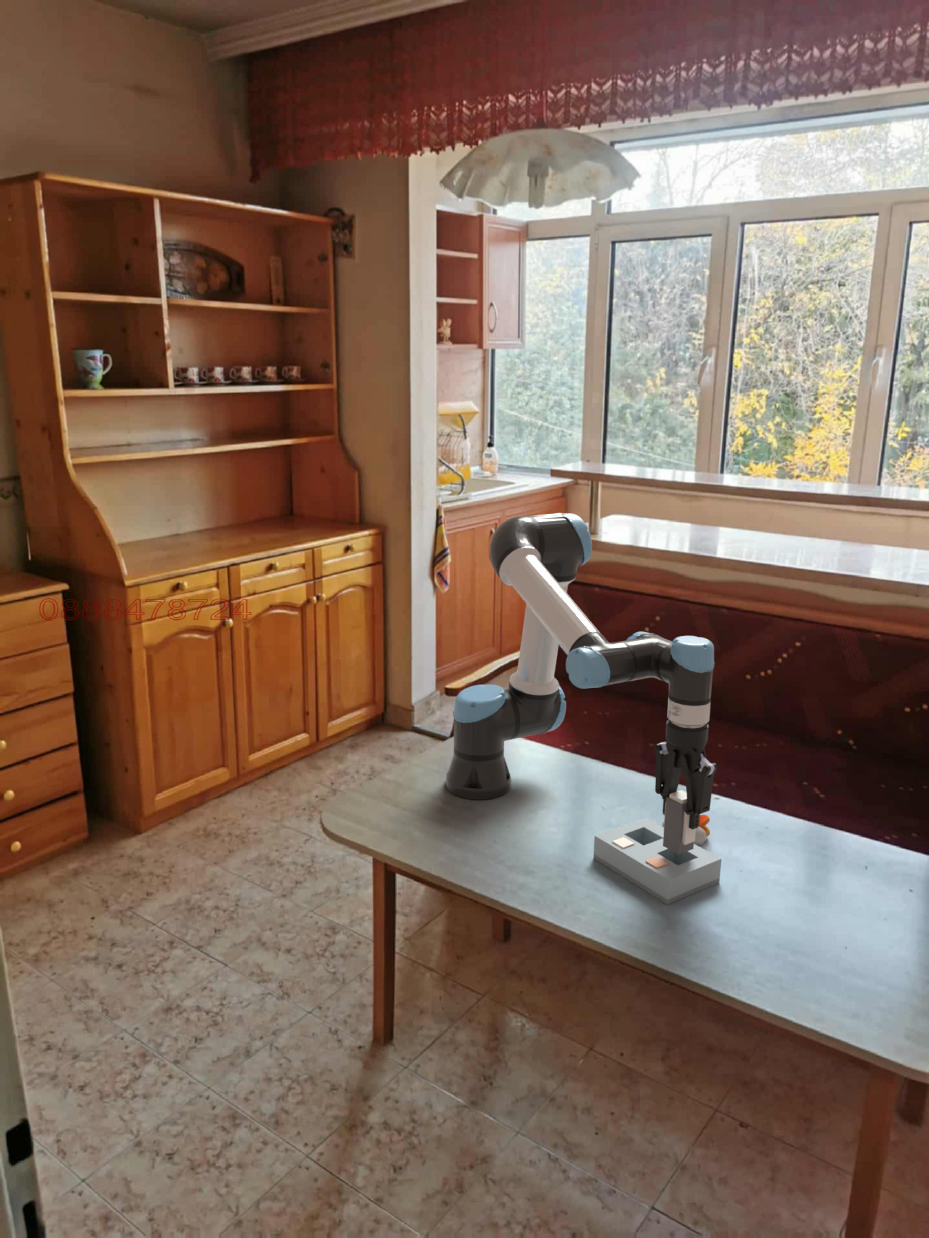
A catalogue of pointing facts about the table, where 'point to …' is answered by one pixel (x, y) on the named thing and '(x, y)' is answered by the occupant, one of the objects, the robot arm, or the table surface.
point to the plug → (675, 822)
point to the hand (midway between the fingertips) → (679, 836)
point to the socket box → (656, 861)
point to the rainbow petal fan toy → (701, 830)
